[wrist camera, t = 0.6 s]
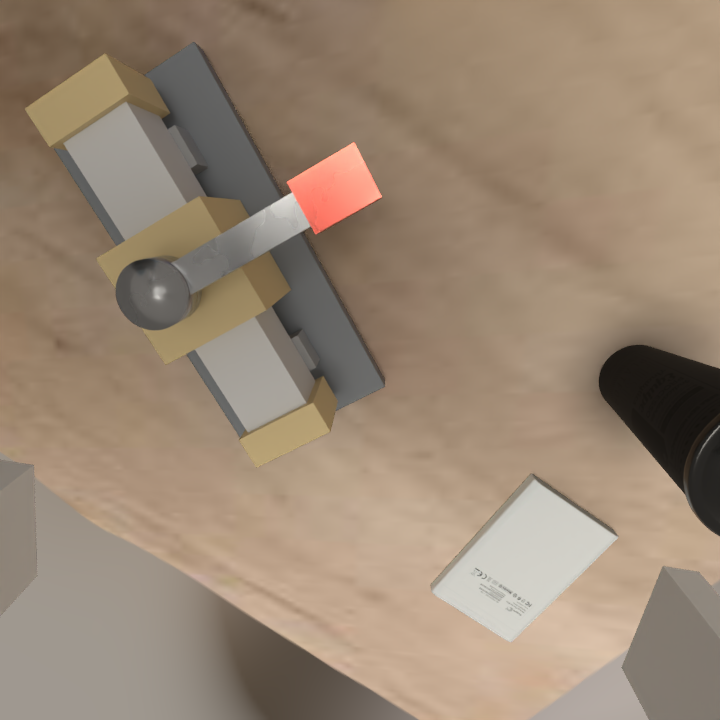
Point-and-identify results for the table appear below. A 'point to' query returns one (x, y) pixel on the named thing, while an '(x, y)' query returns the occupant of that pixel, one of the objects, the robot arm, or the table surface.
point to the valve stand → (198, 226)
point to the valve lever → (245, 241)
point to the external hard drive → (522, 559)
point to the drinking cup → (672, 418)
